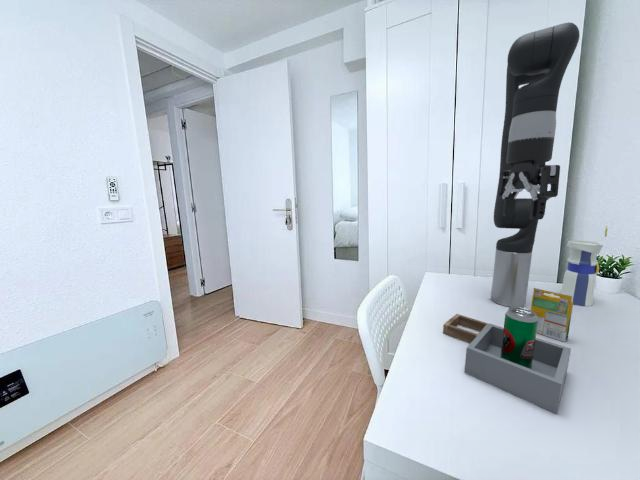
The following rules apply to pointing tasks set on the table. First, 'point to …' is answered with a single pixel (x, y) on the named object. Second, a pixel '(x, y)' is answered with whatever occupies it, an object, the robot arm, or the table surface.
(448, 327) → the frame
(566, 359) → the bin
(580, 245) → the white plastic bottle
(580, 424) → the table surface
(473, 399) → the table surface
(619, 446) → the table surface
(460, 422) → the table surface
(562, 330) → the crayon box
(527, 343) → the soda can
